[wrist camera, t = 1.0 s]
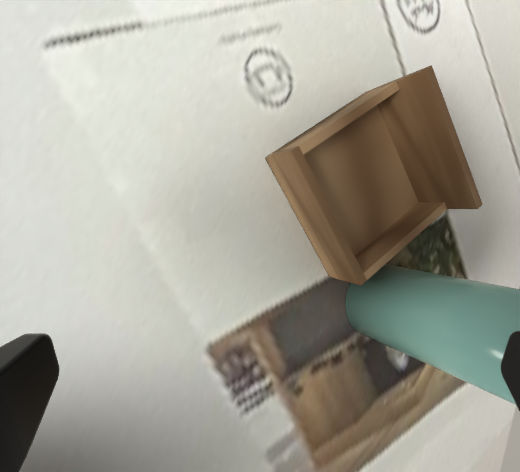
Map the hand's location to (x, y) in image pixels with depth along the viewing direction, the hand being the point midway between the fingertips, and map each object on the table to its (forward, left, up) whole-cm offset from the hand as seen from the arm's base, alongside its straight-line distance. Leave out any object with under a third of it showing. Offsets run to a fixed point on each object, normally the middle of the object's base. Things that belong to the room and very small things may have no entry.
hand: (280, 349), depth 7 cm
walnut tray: (+10, -8, -13) cm, 18 cm away
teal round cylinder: (+4, -14, -13) cm, 20 cm away
